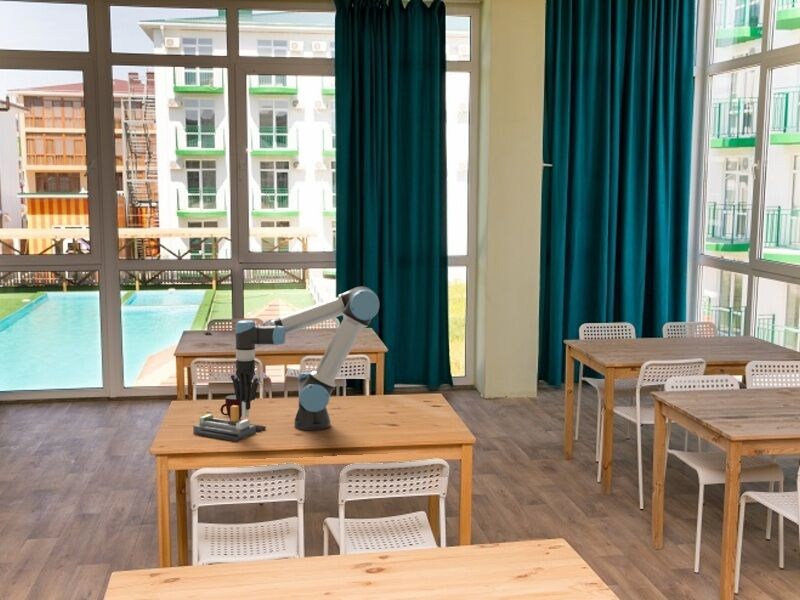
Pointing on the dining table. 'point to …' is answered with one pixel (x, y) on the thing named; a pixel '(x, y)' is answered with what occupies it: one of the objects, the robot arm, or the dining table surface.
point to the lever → (234, 415)
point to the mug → (229, 402)
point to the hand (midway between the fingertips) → (245, 417)
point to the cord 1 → (218, 435)
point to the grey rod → (258, 428)
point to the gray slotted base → (224, 427)
